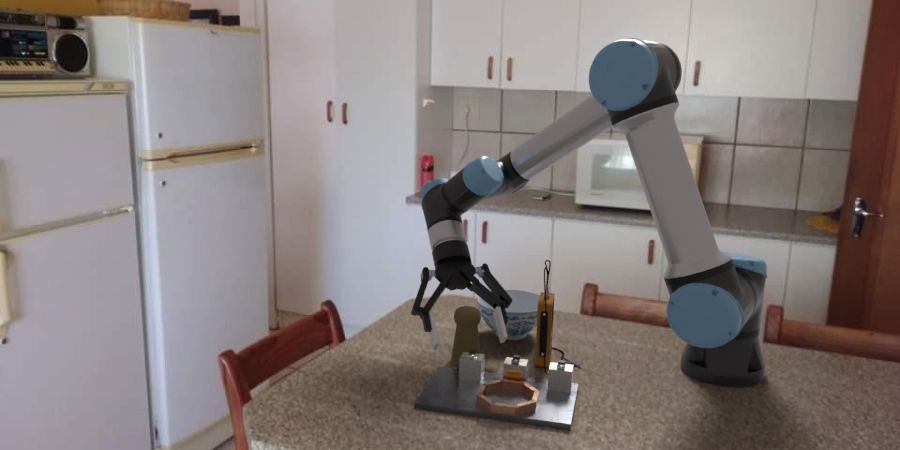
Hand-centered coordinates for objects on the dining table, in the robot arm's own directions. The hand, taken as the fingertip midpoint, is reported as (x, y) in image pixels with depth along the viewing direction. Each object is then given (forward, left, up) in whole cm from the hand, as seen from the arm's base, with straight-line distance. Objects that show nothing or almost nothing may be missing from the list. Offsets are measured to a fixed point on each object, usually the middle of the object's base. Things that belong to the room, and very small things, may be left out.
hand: (470, 343), depth 137 cm
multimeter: (-17, -7, -5) cm, 19 cm away
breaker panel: (-8, +12, -5) cm, 15 cm away
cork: (+1, -2, -5) cm, 5 cm away
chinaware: (-5, -19, -5) cm, 20 cm away
